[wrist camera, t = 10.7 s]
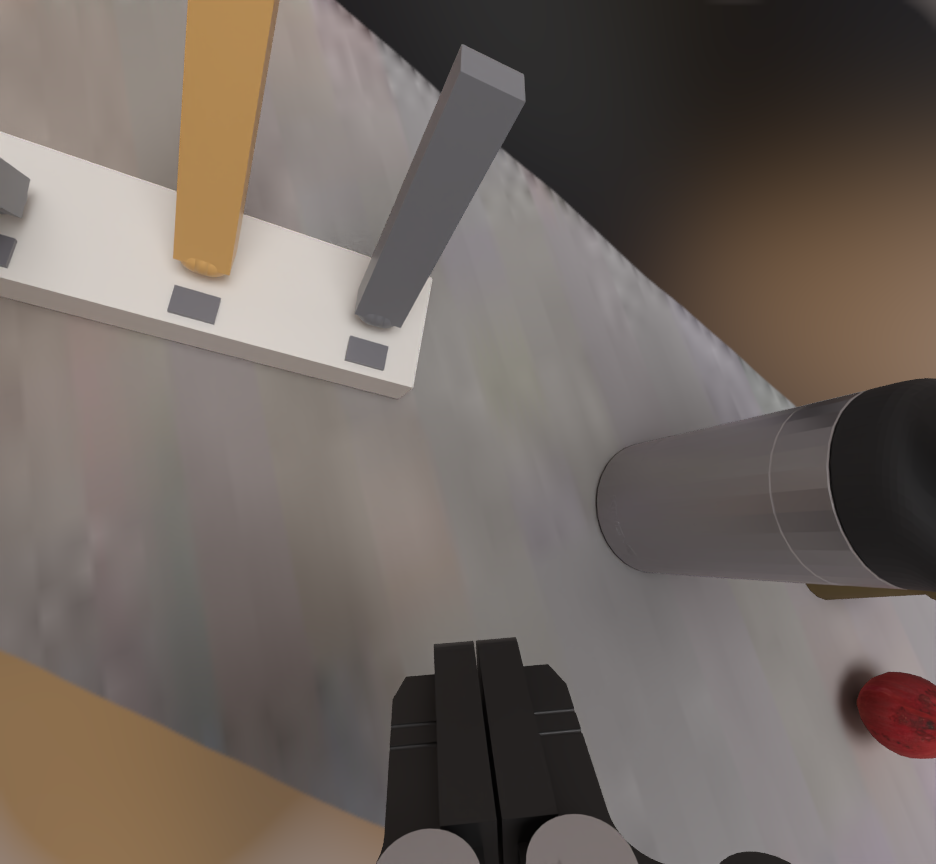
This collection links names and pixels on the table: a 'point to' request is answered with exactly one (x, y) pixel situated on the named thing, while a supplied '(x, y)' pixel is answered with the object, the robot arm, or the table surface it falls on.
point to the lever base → (194, 277)
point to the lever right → (440, 183)
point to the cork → (861, 592)
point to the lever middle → (219, 126)
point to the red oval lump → (900, 713)
